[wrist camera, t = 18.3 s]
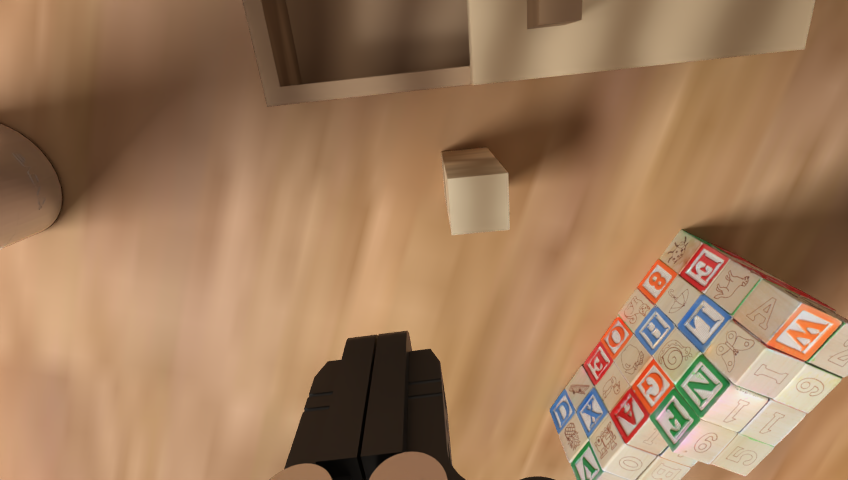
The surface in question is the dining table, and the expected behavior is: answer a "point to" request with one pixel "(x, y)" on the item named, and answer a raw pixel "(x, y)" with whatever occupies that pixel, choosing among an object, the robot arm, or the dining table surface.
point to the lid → (623, 34)
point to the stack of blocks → (699, 370)
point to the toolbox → (357, 47)
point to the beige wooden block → (475, 191)
